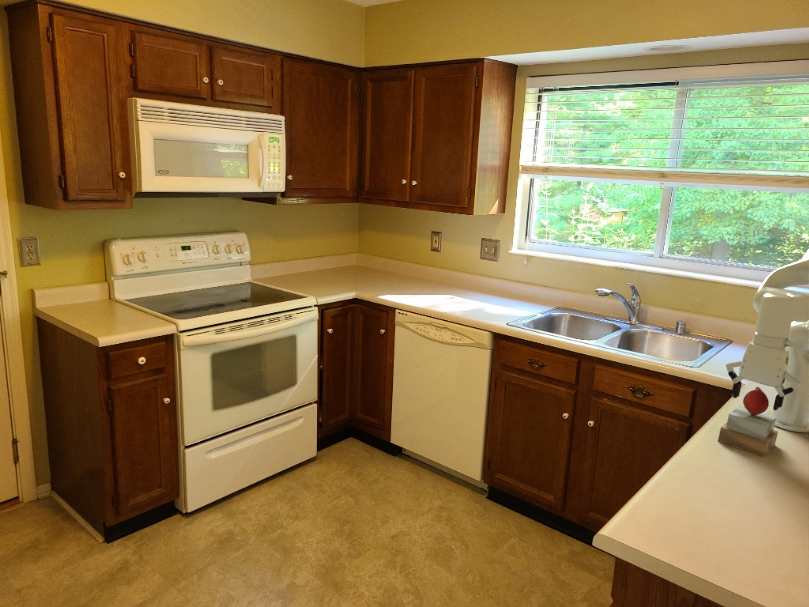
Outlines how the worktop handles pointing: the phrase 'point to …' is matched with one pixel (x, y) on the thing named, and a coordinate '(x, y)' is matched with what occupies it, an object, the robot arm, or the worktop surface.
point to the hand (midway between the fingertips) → (755, 402)
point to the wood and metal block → (749, 431)
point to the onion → (756, 401)
